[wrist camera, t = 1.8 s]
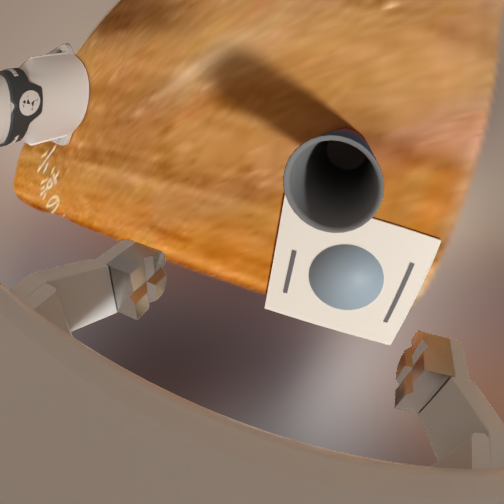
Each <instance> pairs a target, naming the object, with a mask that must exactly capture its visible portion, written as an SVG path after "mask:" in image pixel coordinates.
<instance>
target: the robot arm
mask: <svg viewBox="0 0 504 504" xmlns="http://www.w3.org/2000/svg"><path fill="white" fill-rule="evenodd" d="M88 100H89V80H88V75H87V72H86V69H85V67H84V65H83V63H82V62H81V60H80V59H79V58H78V57H76V56H75V54H74V53H73V50H72V47H71V45H70V44H69V43H66V44H62V45H61V46H59V47H57V48H56V49H54V50H53V51H51V52H50V53H48V54H46V55H41V56H35V57H30V58H29V59H28V60H27V61H25V62H24V63H23V64H22V65H21V66H20V67H19V68H13V69H5V70H3V71H0V147H1V146H5V145H11V144H13V143H15V142H17V141H20V140H21V141H22V142H25V143H27V144H29V145H36V144H39V143H43V142H46V141H52V142H54V143H57V144H59V145H62V146H63V145H67V144H68V143H69V141H70V138H71V135H72V133H73V131H74V130H75V129H76V128H77V127H78V126H79V124H80V123H81V121H82V120H83V117H84V115H85V112H86V109H87V105H88ZM164 264H165V254H164V253H163V252H162V251H159V250H156V249H154V248H151V247H148V246H146V245H143V244H140V243H137V242H134V241H132V240H129V239H123V240H122V241H120V242H119V243H118V244H116V245H115V246H113V247H112V248H110V249H109V250H108V251H106V252H105V253H103V254H102V255H100V256H99V257H98V258H96V259H95V260H93V259H87V260H84V261H79V262H74V263H70V264H66V265H61V266H57V267H53V268H48V269H44V270H40V271H36V272H32V273H31V274H30V275H28V276H27V277H26V278H24V279H23V280H21V281H20V282H19V283H17V284H16V285H15V286H13V287H12V288H11V289H9V290H8V289H7V288H6V287H5V286H4V285H2V284H1V283H0V504H504V424H503V422H502V421H501V419H500V418H499V416H498V415H497V413H496V412H495V411H494V409H493V408H492V406H491V405H490V403H489V402H488V401H487V399H486V398H485V397H484V395H483V394H482V392H481V391H480V390H479V388H478V387H477V386H476V384H475V383H474V382H473V381H470V380H469V374H468V369H467V363H466V358H465V353H464V349H463V344H462V342H461V341H460V340H456V339H452V338H448V337H447V338H446V337H442V336H438V335H434V334H430V333H426V332H422V331H418V332H417V333H415V335H414V336H413V338H412V347H410V348H408V349H406V350H405V351H404V353H403V355H402V356H401V358H400V361H399V364H398V367H397V372H396V380H397V381H398V383H399V384H400V385H399V386H398V388H397V389H396V391H395V408H396V409H400V410H405V411H409V412H414V413H418V416H419V418H420V421H421V423H422V425H423V427H424V430H425V432H426V434H427V437H428V439H429V441H430V443H431V446H432V449H433V451H434V453H435V456H436V458H437V461H438V462H437V463H435V464H434V465H432V466H431V467H428V466H418V465H409V464H402V463H395V462H389V461H382V460H377V459H371V458H366V457H361V456H356V455H351V454H346V453H342V452H338V451H333V450H329V449H325V448H321V447H318V446H313V445H310V444H306V443H303V442H299V441H296V440H293V439H289V438H286V437H283V436H279V435H276V434H273V433H270V432H267V431H264V430H261V429H258V428H255V427H252V426H249V425H247V424H244V423H241V422H239V421H236V420H234V419H231V418H228V417H226V416H223V415H220V414H218V413H216V412H213V411H211V410H209V409H206V408H204V407H201V406H199V405H197V404H195V403H192V402H190V401H188V400H186V399H184V398H181V397H179V396H177V395H175V394H173V393H171V392H169V391H167V390H165V389H163V388H161V387H159V386H157V385H155V384H153V383H151V382H148V381H147V380H145V379H143V378H141V377H139V376H137V375H135V374H133V373H132V372H129V371H128V370H126V369H124V368H122V367H121V366H119V365H117V364H116V363H114V362H112V361H110V360H109V359H107V358H105V357H103V356H102V355H100V354H99V353H97V352H95V351H94V350H92V349H90V348H89V347H87V346H86V345H84V344H83V343H81V342H80V341H78V340H76V339H75V338H73V336H72V333H71V331H74V330H76V329H78V328H81V327H83V326H86V325H88V324H90V323H93V322H95V321H98V320H100V319H103V318H105V317H107V316H110V315H112V314H115V313H117V311H118V312H120V313H122V314H125V315H127V316H129V317H131V318H134V319H136V320H138V319H139V318H140V317H141V316H142V315H143V314H144V313H145V312H146V311H147V310H148V309H149V302H152V301H156V300H157V299H158V298H159V297H160V296H161V295H162V293H163V290H164V288H165V285H166V274H165V272H164V270H163V269H162V267H163V266H164Z"/></svg>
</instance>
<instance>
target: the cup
mask: <svg viewBox="0 0 504 504" xmlns="http://www.w3.org/2000/svg"><path fill="white" fill-rule="evenodd" d="M283 186H284V191H285V196H286V198H287V201H288V203H289V205H290V206H291V208H292V210H293V211H294V212H295V214H296V215H297V216H298V217H299V218H300V219H301V220H302V221H304V222H305V223H306V224H308V225H310V226H311V227H313V228H315V229H318V230H321V231H324V232H330V233H344V232H348V231H353V230H355V229H357V228H359V227H361V226H363V225H364V224H366V223H367V222H368V221H369V220H370V219H371V218H372V217H373V216H374V215H375V214H376V212H377V210H378V209H379V207H380V204H381V201H382V198H383V192H384V181H383V175H382V172H381V169H380V166H379V164H378V162H377V160H376V158H375V156H374V155H373V153H372V151H371V149H370V147H369V145H368V143H367V141H366V140H365V138H364V137H363V136H362V135H361V134H360V133H359V132H357V131H356V130H353V129H350V128H341V129H337V130H334V131H332V132H329V133H326V134H323V135H320V136H318V137H315V138H312V139H310V140H308V141H306V142H305V143H303V144H301V145H300V146H299V147H298V148H297V149H296V150H295V151H294V152H293V154H292V155H291V156H290V158H289V160H288V162H287V164H286V167H285V171H284V176H283Z"/></svg>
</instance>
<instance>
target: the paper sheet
mask: <svg viewBox="0 0 504 504" xmlns="http://www.w3.org/2000/svg"><path fill="white" fill-rule="evenodd" d="M440 243H441V239H438V238H435V237H432V236H429V235H426V234H423V233H420V232H417V231H414V230H411V229H407V228H404V227H401V226H398V225H395V224H391V223H388V222H385V221H382V220H378V219H375V218H371V219H370V220H369V221H368V222H367V223H366V224H364V225H363V226H361V227H359V228H357V229H355V230H353V231H348V232H344V233H330V232H324V231H321V230H318V229H315V228H313V227H311V226H310V225H308V224H306V223H305V222H304V221H302V220H301V219H300V218H299V217H298V216H297V215H296V214H295V212H294V211H293V210H292V208H291V206H290V205H289V203H288V201H287V198H286V196H285V197H284V202H283V208H282V214H281V220H280V226H279V231H278V237H277V242H276V248H275V254H274V259H273V265H272V270H271V276H270V281H269V286H268V292H267V298H266V302H265V309H269V310H271V311H275V312H278V313H281V314H284V315H287V316H290V317H294V318H297V319H300V320H303V321H307V322H310V323H313V324H317V325H320V326H324V327H327V328H330V329H334V330H337V331H341V332H344V333H347V334H351V335H354V336H358V337H361V338H365V339H369V340H372V341H376V342H380V343H383V344H387V345H391V343H392V341H393V340H394V338H395V336H396V334H397V332H398V330H399V329H400V327H401V325H402V323H403V321H404V319H405V318H406V316H407V314H408V312H409V310H410V308H411V306H412V304H413V302H414V300H415V298H416V296H417V294H418V292H419V290H420V288H421V286H422V284H423V282H424V280H425V277H426V275H427V273H428V271H429V269H430V266H431V264H432V262H433V260H434V257H435V255H436V253H437V250H438V248H439V245H440Z"/></svg>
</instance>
